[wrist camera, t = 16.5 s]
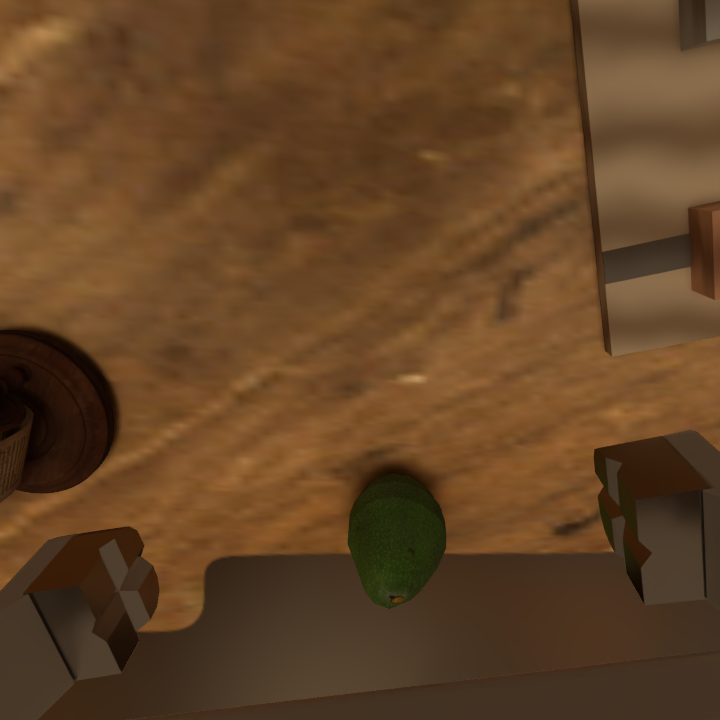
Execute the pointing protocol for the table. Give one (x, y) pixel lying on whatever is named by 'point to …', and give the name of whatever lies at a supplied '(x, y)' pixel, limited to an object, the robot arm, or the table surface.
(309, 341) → the table surface
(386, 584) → the avocado
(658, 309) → the subfloor panel
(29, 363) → the scroll
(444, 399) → the table surface
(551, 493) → the table surface
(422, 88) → the table surface
